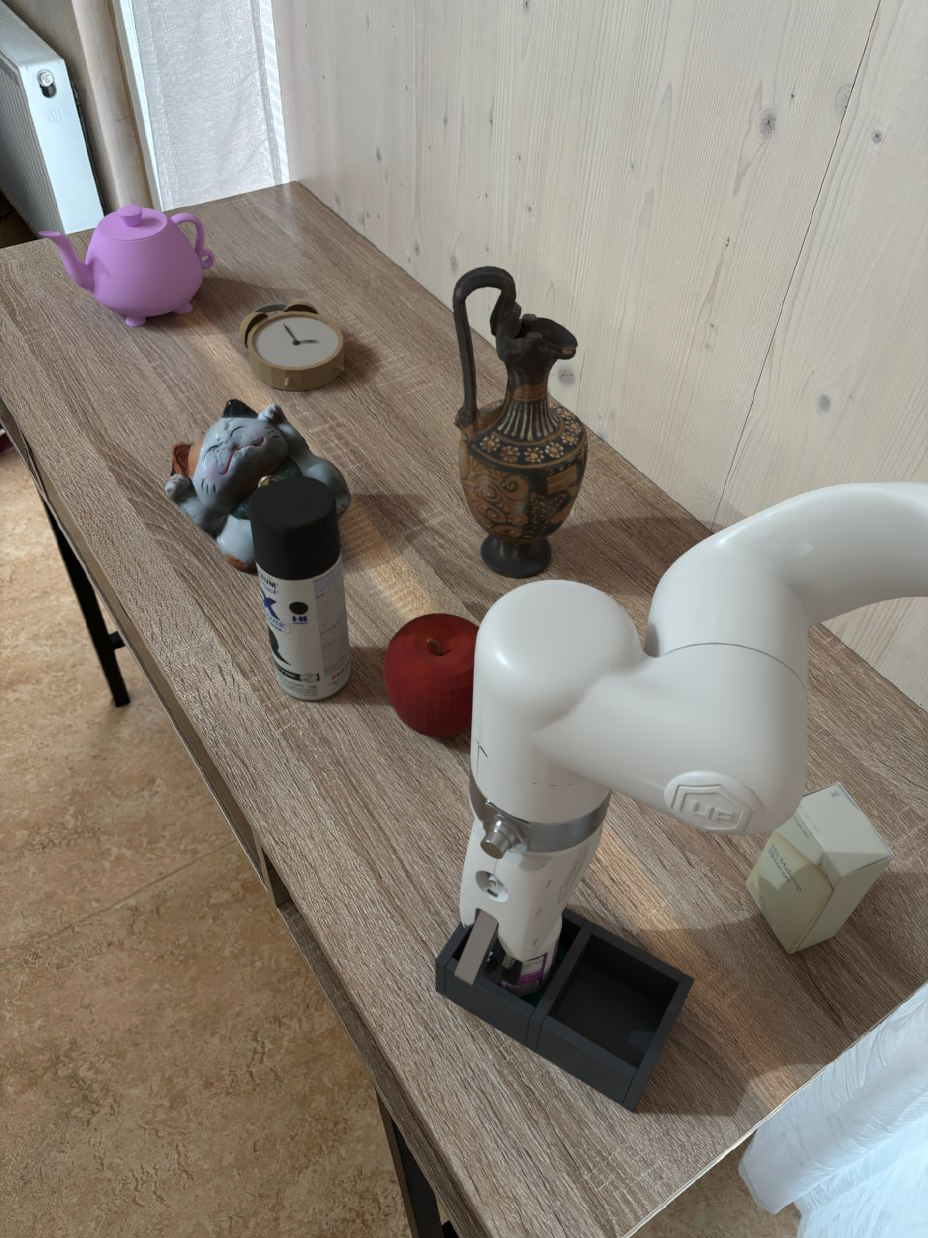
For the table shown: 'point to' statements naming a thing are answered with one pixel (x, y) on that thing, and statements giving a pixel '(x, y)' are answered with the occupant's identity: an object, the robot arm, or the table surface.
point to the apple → (432, 674)
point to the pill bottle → (536, 966)
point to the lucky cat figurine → (243, 474)
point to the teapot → (139, 263)
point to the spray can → (302, 585)
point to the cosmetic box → (817, 868)
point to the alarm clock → (292, 346)
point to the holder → (582, 1006)
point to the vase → (517, 433)
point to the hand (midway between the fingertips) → (519, 931)
